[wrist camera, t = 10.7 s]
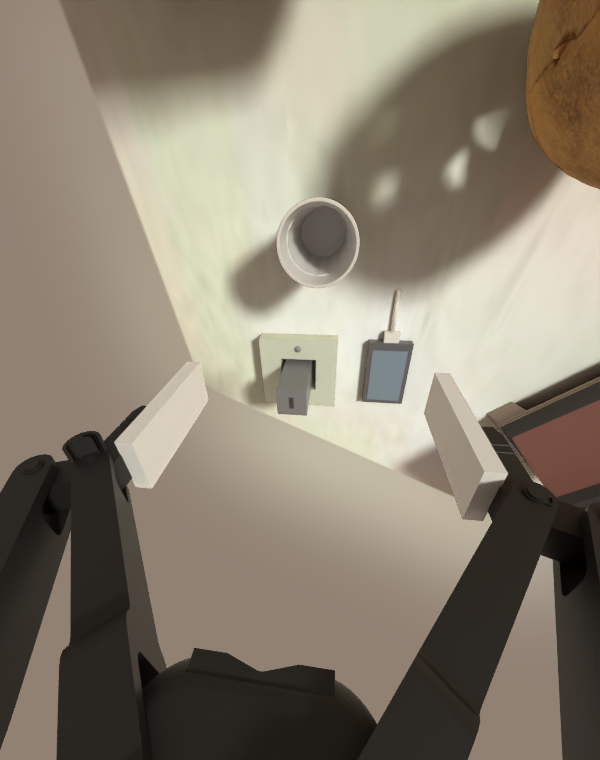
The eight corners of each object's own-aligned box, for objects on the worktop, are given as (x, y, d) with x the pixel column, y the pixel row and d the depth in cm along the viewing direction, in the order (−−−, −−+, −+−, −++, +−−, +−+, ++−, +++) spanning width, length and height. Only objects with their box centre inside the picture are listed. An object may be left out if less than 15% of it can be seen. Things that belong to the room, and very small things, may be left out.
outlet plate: (262, 333, 47) (258, 339, 45) (337, 335, 46) (337, 342, 44) (268, 394, 54) (265, 402, 52) (334, 398, 52) (334, 406, 50)
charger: (287, 355, 49) (275, 390, 40) (312, 356, 48) (306, 391, 40) (288, 377, 51) (277, 414, 43) (312, 378, 51) (306, 416, 42)
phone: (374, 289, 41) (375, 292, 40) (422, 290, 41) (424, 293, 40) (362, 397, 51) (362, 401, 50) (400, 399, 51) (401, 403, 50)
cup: (329, 275, 41) (324, 303, 31) (282, 239, 39) (261, 255, 29) (368, 223, 37) (377, 235, 27) (317, 179, 35) (308, 175, 25)
